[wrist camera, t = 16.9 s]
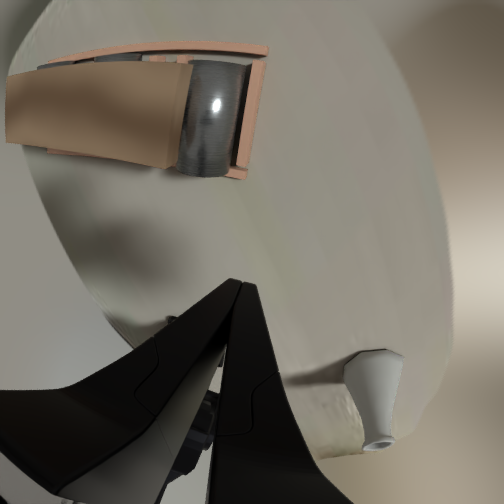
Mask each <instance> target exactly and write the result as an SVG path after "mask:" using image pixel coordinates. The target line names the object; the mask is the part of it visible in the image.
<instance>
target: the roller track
mask: <svg viewBox="0 0 504 504" xmlns="http://www.w3.org/2000/svg"><path fill="white" fill-rule="evenodd" d="M163 50H206V51H224V52H237V53H247V54H255V55H263V56H267V55H268V50H269V47H268V46H261V45H252V44H242V43H230V42H211V41H172V42H153V43H141V44H131V45H123V46H116V47H109V48H103V49H97V50H92V51H87V52H82V53H78V54H73V55H69V56H65V57H61V58H58V59H54V60H50V61H48V64H49V63H54V62H61V61H72V60H74V61H78V60H84V59H89V58H95V57H97V56H102V55H109V54H121V53H133V52H145V51H163ZM165 59H166V57H164V56H150V58H149V61H154V62H165ZM188 60H193V57H192V56H188V55H178V57H177V63H184V64H188ZM265 66H266V63H265V62H264V61H260V60H253V64H252V70H251V75H250V81H249V87H248V93H247V99H246V105H245V111H244V117H243V123H242V130H241V136H240V143H239V149H238V156H237V163H236V165H238V166H243V167H246V165H247V164H248V163H249V159H250V153H251V147H252V141H253V135H254V129H255V123H256V117H257V111H258V106H259V100H260V94H261V88H262V83H263V77H264V72H265ZM47 153H51V154H66V155H79V156H90V157H101V158H107V157H102V156H97V155H91V154H85V153H79V152H73V151H67V150H60V149H53V148H47ZM110 159H113V158H110ZM176 163H177V162H176ZM176 163H174V164H173V165H171V167H176ZM247 171H248V169H244V168H239V167H234V166H230V170H229V173H228V174H226V175H224V176H228V177H233V178H238V179H243V180H245V179H246V177H247Z"/></svg>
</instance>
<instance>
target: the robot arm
mask: <svg viewBox="0 0 504 504" xmlns="http://www.w3.org/2000/svg"><path fill="white" fill-rule="evenodd" d="M225 349H226V353H225ZM224 355H225V360H224ZM223 362H224V367H223V374H222V381H221V388H220V393H215V392H213V391H210V390H208V389H209V386H210V383H211V380H212V378H213V376H214V374H215V371H216V369H217V367H222V366H223ZM278 371H279V369H278V365H277V362H276V358H275V354H274V350H273V346H272V343H271V339H270V335H269V331H268V327H267V324H266V320H265V316H264V312H263V308H262V305H261V301H260V297H259V293H258V289H257V286H256V285H255V284H253V283H248V282H243V283H242V281H240V280H236V279H232V278H229V279H227V280H226V281H225V282H223V283H222V284H221V285H220V286H218V287H217V288H216V289H214V290H213V291H212V292H210V293H209V294H208V295H206V296H205V297H204V298H202V299H201V300H200V301H198V302H197V303H196V304H194V305H193V306H192V307H191V308H189V309H188V310H187V311H185V312H184V313H183V314H181V315H180V316H179V317H177V318H175V317H170V318H169V319H168V325H167V326H165V327H164V328H163V329H161V330H160V331H159V332H157V333H156V334H155V335H154V337H150V338H149V339H148V340H147V341H145V342H144V343H142V344H141V345H140V346H138V347H137V348H135V349H134V350H132V351H131V352H130V353H128V354H126V355H125V356H123V357H121V358H120V359H118V360H117V361H115V362H113V363H111V364H110V365H108V366H106V367H104V368H103V369H101V370H99V371H97V372H95V373H94V374H92V375H90V376H88V377H86V378H85V379H83V380H81V381H79V382H77V383H75V384H73V385H70V386H67V387H64V388H59V389H49V390H0V504H160V502H161V499H162V496H163V494H164V491H165V489H166V487H167V484H168V483H170V482H172V481H173V480H175V479H176V478H178V477H180V476H181V475H187V474H188V473H190V472H191V471H192V470H193V469H194V468H195V466H196V464H197V462H198V460H199V457H200V455H201V453H202V450H205V451H206V450H208V449H209V447H210V446H211V444H212V442H213V446H212V454H211V461H210V469H209V477H208V485H207V493H206V501H205V504H354V503H353V502H351V501H350V500H349V499H348V498H347V497H346V496H345V495H344V494H343V493H342V492H341V491H340V490H339V489H338V488H337V487H335V486H334V485H333V484H332V483H331V482H330V481H329V480H328V479H327V478H326V477H325V476H324V475H323V473H322V472H321V471H320V469H319V468H318V466H317V465H316V463H315V461H314V459H313V457H312V455H311V453H310V451H309V449H308V447H307V444H306V442H305V440H304V438H303V435H302V433H301V431H300V429H299V426H298V424H297V422H296V420H295V417H294V415H293V412H292V410H291V407H290V405H289V402H288V400H287V397H286V393H285V390H284V387H283V384H282V380H281V376H280V373H279V372H278Z"/></svg>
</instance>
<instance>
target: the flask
mask: <svg viewBox="0 0 504 504" xmlns="http://www.w3.org/2000/svg"><path fill="white" fill-rule="evenodd" d="M403 361H404V357H403V356H401V355H398V354H396V353H394V352H391V351H389V350H381V351H370V352H361V353H360V354H359V355H357V356H356V357H355V358H353V359H352V360H351V361H350V362H348V363H347V364H346V365H344V374H343V380H344V382H345V384H346V386H347V388H348V390H349V392H350V394H351V396H352V398H353V400H354V402H355V405H356V407H357V409H358V411H359V414H360V416H361V419H362V423H363V428H364V433H365V441H364V443H363V445H362V450H365V451H376V450H383V449H386V448H388V447H390V446H392V445H393V444H394V442H395V439H394V437H392V435H391V419H392V410H393V405H394V401H395V397H396V393H397V388H398V384H399V379H400V375H401V371H402V366H403Z"/></svg>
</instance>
